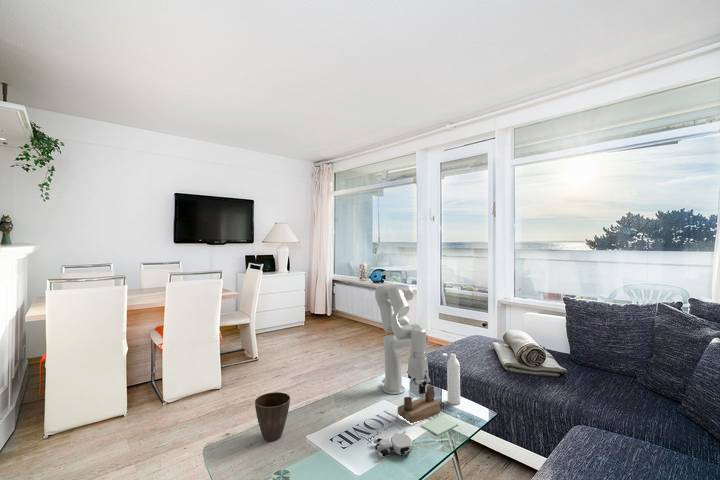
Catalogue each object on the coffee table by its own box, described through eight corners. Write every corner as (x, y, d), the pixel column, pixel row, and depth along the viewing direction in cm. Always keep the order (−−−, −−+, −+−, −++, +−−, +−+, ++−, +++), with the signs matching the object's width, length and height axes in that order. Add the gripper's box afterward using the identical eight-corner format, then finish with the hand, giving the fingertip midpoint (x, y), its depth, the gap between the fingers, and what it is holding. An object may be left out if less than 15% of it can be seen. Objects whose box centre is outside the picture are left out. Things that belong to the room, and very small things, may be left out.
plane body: (397, 417, 162) (397, 392, 163) (426, 406, 174) (426, 382, 175) (411, 425, 155) (410, 398, 156) (440, 412, 167) (439, 388, 167)
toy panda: (378, 464, 129) (416, 457, 131) (378, 452, 129) (415, 446, 131) (372, 446, 141) (407, 440, 143) (371, 435, 141) (406, 429, 143)
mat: (420, 426, 155) (420, 424, 155) (440, 416, 163) (440, 415, 163) (437, 435, 147) (437, 434, 147) (458, 425, 155) (458, 424, 155)
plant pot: (271, 424, 157) (271, 389, 158) (297, 432, 150) (297, 395, 151) (247, 440, 144) (247, 402, 144) (274, 450, 137) (274, 410, 137)
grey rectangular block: (409, 392, 166) (409, 381, 166) (419, 388, 170) (419, 378, 170) (417, 395, 162) (417, 385, 162) (427, 391, 166) (427, 381, 166)
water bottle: (458, 399, 182) (458, 352, 182) (461, 404, 175) (460, 356, 176) (442, 399, 182) (441, 352, 183) (444, 404, 176) (443, 355, 176)
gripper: (400, 351, 170) (400, 387, 170) (426, 360, 157) (426, 400, 157) (411, 348, 175) (411, 383, 175) (437, 357, 161) (437, 395, 161)
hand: (418, 391), depth 166 cm, fingers closed on grey rectangular block, 5 cm apart
